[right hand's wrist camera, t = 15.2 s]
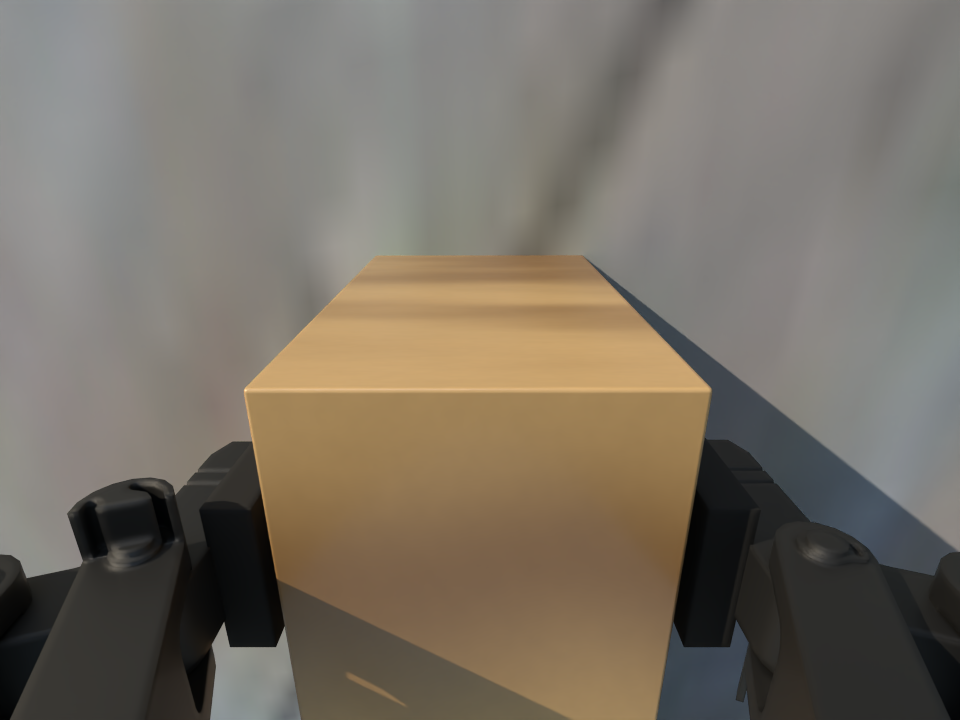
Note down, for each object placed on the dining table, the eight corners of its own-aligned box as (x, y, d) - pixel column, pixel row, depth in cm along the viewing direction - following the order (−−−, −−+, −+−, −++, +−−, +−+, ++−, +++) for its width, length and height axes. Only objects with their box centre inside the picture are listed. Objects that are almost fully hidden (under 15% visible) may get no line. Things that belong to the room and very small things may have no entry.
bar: (376, 254, 15) (240, 388, 7) (582, 253, 15) (715, 388, 7) (414, 797, 24) (377, 1161, 16) (545, 797, 24) (582, 1161, 16)
